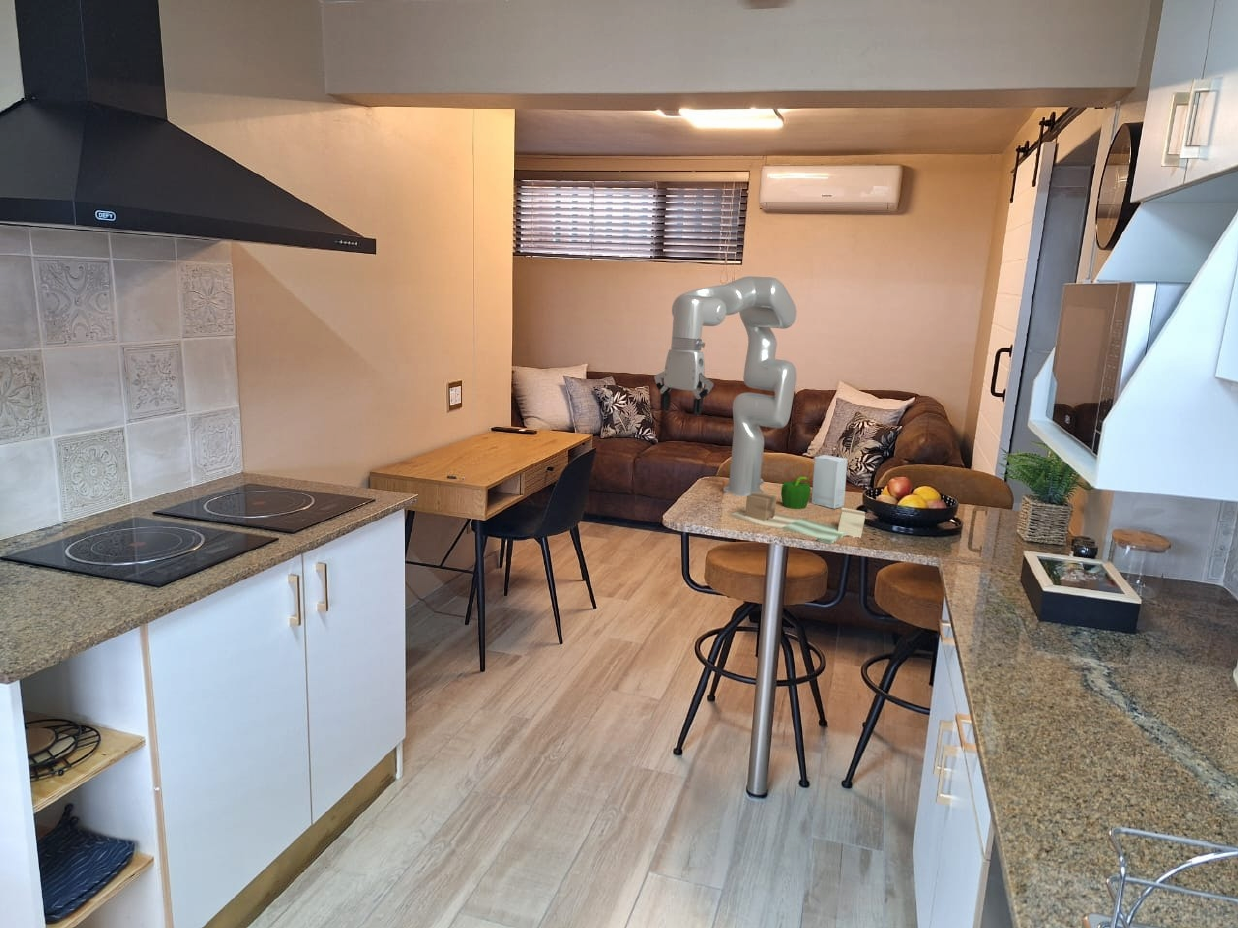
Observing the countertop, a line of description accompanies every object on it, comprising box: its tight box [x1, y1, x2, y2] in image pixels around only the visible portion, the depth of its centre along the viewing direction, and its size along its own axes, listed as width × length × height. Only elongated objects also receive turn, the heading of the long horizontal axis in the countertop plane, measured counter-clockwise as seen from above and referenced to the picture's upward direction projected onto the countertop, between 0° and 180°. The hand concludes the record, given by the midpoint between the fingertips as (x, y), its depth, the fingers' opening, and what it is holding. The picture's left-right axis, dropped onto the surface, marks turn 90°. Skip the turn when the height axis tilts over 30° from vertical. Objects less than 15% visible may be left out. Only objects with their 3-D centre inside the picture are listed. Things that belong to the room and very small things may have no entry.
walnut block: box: [745, 492, 777, 521], centre depth 224 cm, size 6×6×6 cm
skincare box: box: [811, 454, 848, 509], centre depth 245 cm, size 8×6×15 cm
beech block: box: [837, 507, 866, 539], centre depth 217 cm, size 6×6×6 cm
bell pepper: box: [780, 476, 812, 510], centre depth 238 cm, size 8×8×10 cm
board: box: [726, 507, 846, 545], centre depth 221 cm, size 14×30×1 cm, turn 55°
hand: (680, 411), depth 212 cm, fingers open, 9 cm apart
